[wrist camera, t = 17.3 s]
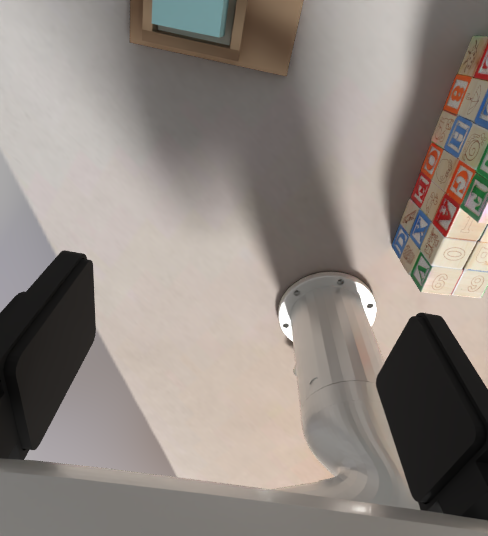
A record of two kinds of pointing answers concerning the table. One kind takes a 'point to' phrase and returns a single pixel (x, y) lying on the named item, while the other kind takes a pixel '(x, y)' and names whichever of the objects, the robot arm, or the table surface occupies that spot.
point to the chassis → (229, 34)
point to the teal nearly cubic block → (192, 15)
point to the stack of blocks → (453, 191)
